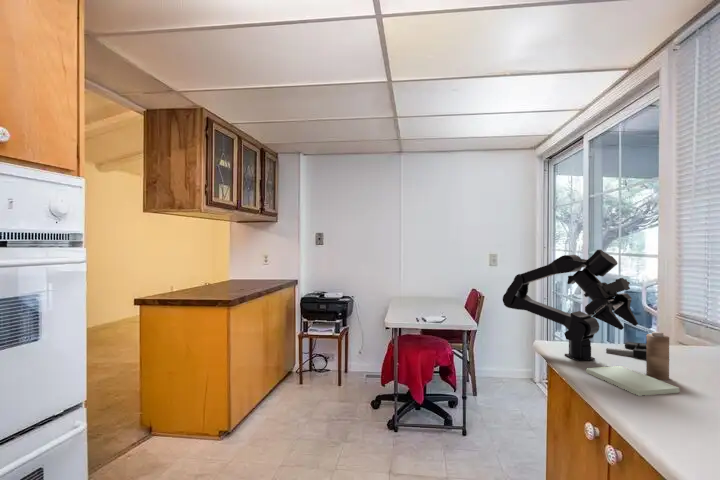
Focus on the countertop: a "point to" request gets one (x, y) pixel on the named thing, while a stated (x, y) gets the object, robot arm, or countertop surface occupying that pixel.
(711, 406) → the countertop surface
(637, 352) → the door handle
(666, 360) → the brown capped cylinder
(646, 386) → the serving board
